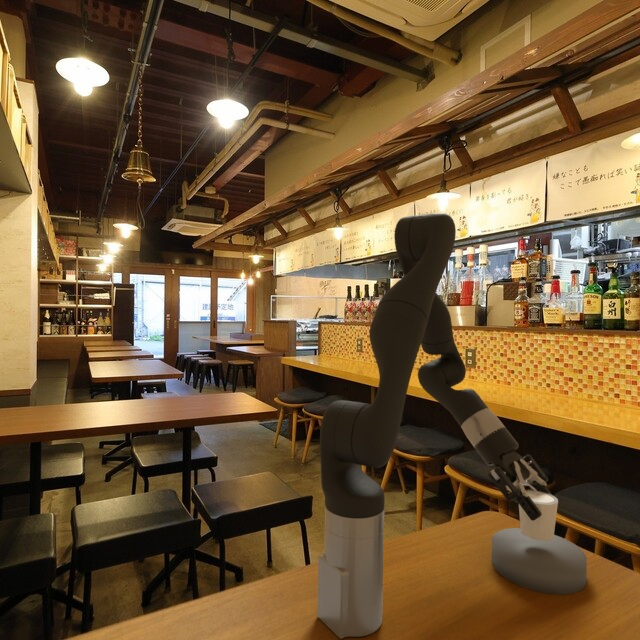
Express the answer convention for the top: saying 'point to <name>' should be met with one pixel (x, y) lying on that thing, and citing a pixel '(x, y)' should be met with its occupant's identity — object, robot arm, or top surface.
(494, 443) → the robot arm
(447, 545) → the top surface
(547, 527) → the white cup
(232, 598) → the top surface
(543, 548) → the stand
